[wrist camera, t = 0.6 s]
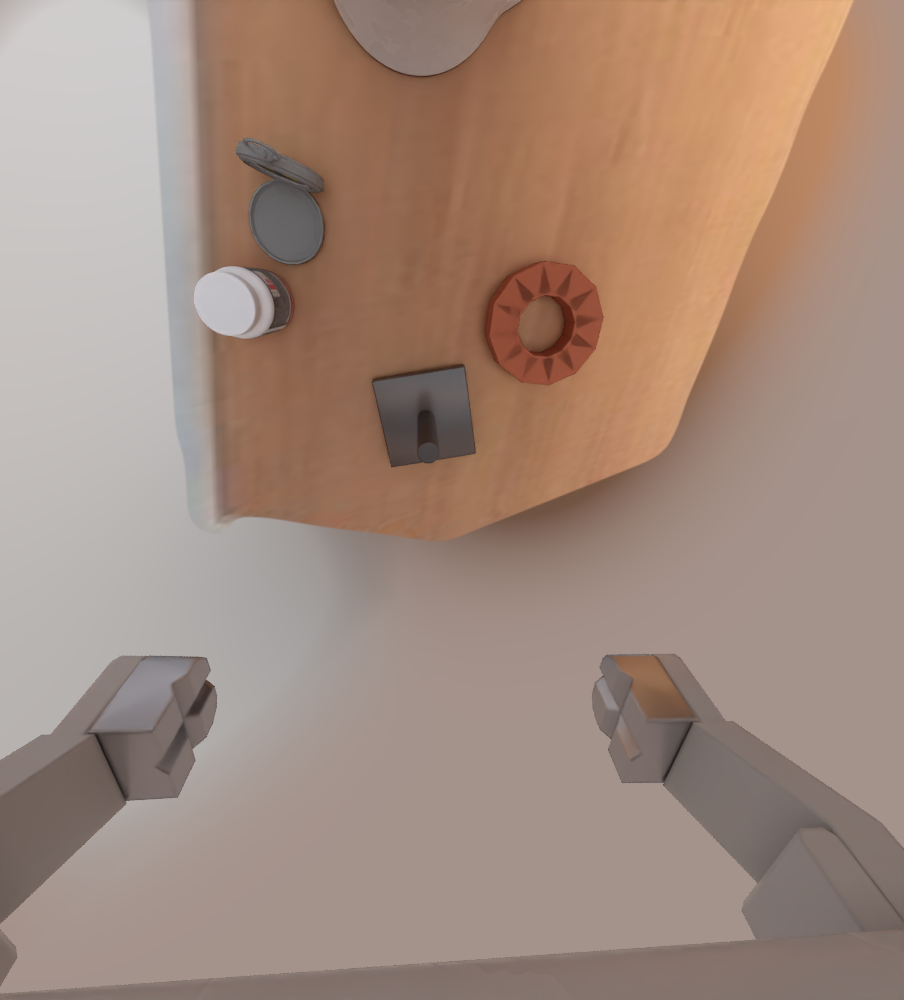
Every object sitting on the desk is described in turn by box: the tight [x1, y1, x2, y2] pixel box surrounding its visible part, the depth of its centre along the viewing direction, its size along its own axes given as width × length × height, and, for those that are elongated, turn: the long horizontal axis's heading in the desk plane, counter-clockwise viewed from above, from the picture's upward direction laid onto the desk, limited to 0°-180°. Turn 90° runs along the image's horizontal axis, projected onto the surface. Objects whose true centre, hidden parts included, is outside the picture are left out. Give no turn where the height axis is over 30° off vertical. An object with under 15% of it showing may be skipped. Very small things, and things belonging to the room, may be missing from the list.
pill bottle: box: [194, 266, 294, 339], centre depth 38 cm, size 6×6×10 cm
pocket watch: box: [236, 138, 324, 265], centre depth 35 cm, size 8×8×10 cm
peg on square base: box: [372, 364, 476, 467], centre depth 43 cm, size 10×10×12 cm
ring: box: [485, 261, 603, 385], centre depth 44 cm, size 11×11×3 cm
